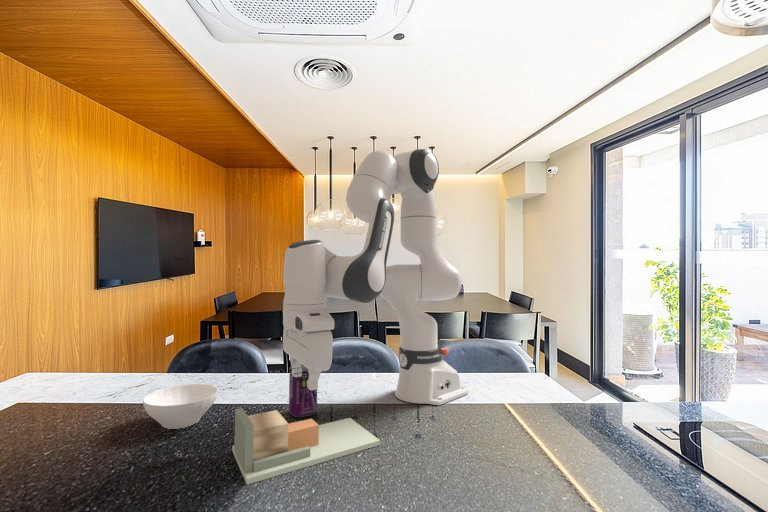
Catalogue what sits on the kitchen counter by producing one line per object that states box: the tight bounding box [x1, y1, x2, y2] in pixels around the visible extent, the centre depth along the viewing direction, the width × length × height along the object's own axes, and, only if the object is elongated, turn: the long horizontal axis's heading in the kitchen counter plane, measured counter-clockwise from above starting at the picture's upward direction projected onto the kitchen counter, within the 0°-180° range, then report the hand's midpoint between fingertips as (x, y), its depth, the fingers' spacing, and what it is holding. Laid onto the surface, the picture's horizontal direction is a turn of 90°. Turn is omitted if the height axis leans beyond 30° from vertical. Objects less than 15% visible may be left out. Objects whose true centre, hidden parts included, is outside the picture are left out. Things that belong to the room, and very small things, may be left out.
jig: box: [231, 407, 381, 486], centre depth 75 cm, size 27×14×9 cm, turn 122°
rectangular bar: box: [288, 418, 320, 451], centre depth 73 cm, size 12×4×4 cm, turn 122°
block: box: [247, 409, 289, 461], centre depth 71 cm, size 6×8×6 cm
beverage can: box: [288, 364, 318, 418], centre depth 94 cm, size 7×7×12 cm
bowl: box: [142, 383, 219, 430], centre depth 88 cm, size 16×16×7 cm
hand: (304, 382), depth 76 cm, fingers open, 8 cm apart
